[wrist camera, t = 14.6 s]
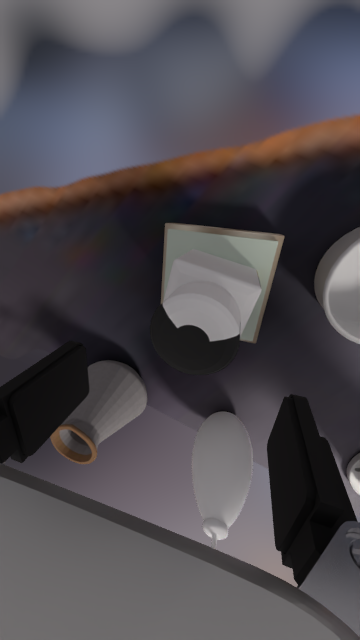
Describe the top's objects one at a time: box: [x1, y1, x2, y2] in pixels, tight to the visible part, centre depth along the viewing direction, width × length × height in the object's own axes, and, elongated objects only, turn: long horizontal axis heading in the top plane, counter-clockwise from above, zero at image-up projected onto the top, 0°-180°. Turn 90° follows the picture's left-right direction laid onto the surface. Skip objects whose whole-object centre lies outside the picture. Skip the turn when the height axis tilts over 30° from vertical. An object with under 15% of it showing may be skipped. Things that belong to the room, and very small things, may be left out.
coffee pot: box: [51, 360, 147, 464], centre depth 34 cm, size 21×12×15 cm, turn 84°
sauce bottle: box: [192, 411, 253, 549], centre depth 29 cm, size 8×8×18 cm
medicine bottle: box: [150, 249, 262, 375], centre depth 20 cm, size 7×7×12 cm
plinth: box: [161, 223, 284, 343], centre depth 27 cm, size 12×12×4 cm
